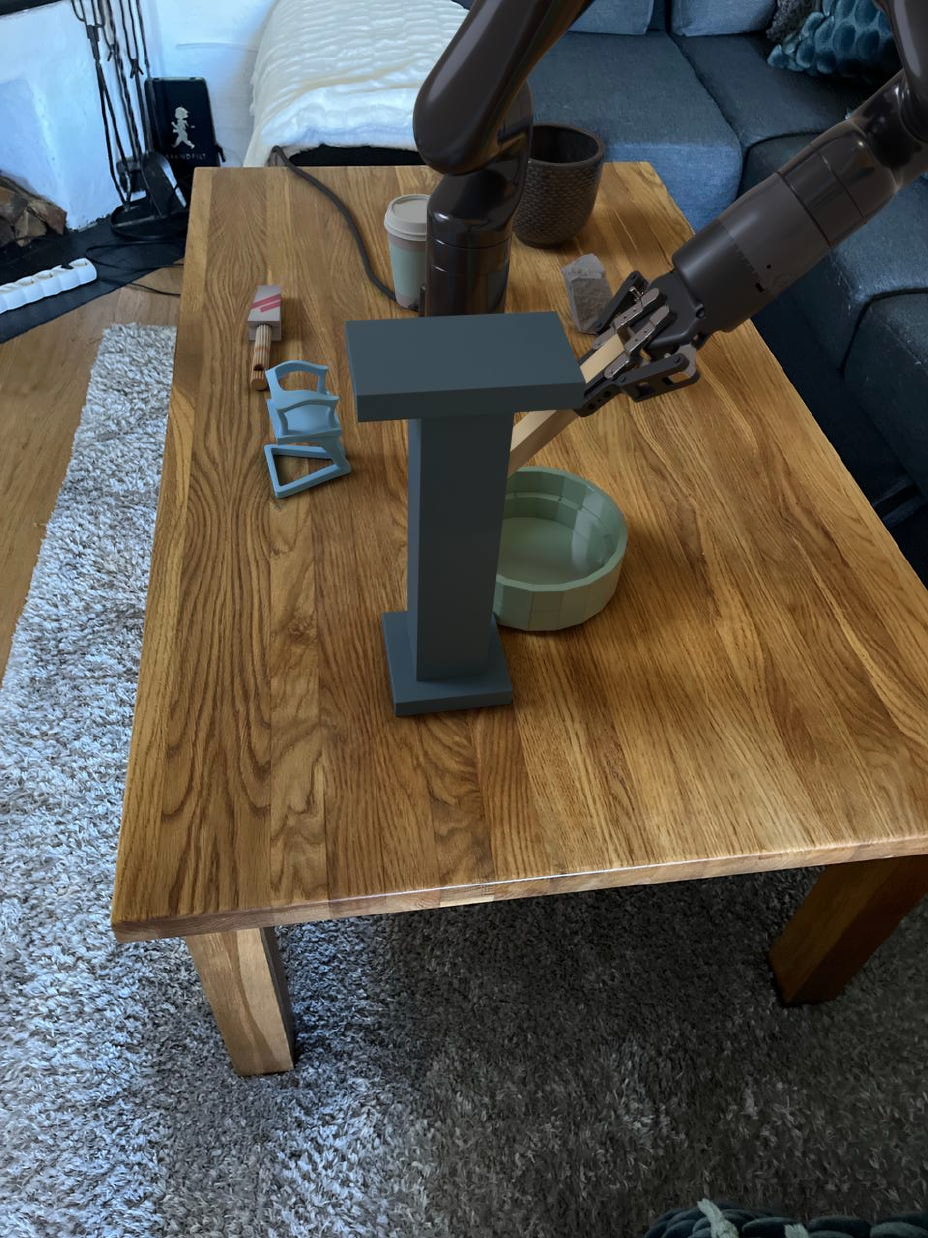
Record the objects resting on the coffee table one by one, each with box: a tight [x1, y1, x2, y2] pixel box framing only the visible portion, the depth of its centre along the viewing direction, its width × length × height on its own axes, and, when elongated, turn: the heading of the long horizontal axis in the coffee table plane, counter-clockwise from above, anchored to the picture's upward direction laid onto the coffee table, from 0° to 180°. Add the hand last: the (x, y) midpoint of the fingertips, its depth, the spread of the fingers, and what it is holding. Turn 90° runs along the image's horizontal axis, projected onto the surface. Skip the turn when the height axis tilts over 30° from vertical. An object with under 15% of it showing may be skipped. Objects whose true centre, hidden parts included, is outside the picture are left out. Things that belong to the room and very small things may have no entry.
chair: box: [263, 359, 352, 499], centre depth 94 cm, size 8×8×12 cm
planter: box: [512, 121, 606, 250], centre depth 129 cm, size 14×14×13 cm
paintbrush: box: [246, 284, 282, 391], centre depth 113 cm, size 4×3×20 cm
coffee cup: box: [383, 193, 431, 311], centre depth 117 cm, size 8×9×12 cm
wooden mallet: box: [507, 334, 637, 479], centre depth 80 cm, size 22×5×2 cm
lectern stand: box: [344, 310, 586, 717], centre depth 71 cm, size 14×10×32 cm
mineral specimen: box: [560, 252, 617, 335], centre depth 117 cm, size 7×9×8 cm
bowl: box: [493, 465, 629, 632], centre depth 89 cm, size 17×17×6 cm
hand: (570, 398), depth 78 cm, fingers closed on wooden mallet, 2 cm apart
